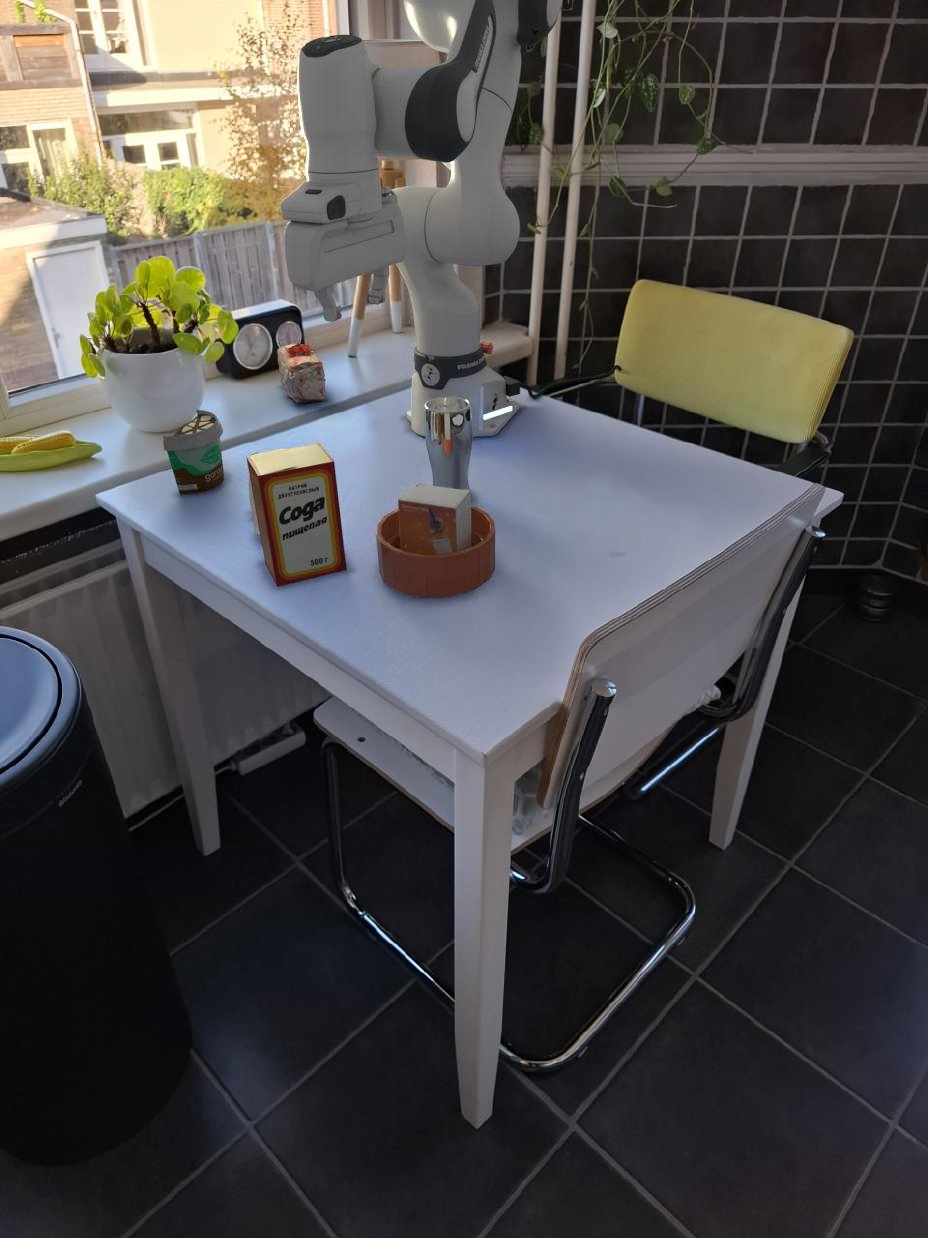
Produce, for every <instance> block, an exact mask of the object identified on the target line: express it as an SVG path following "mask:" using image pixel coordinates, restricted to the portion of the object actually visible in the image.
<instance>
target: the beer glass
mask: <svg viewBox="0 0 928 1238" xmlns="http://www.w3.org/2000/svg"><path fill="white" fill-rule="evenodd" d="M472 431H473V430H472V416H471V407H470V402H469V401H468V400H467V399H465V398H462V397H456V396H443V397H437V398H433V399H431V400H429V401H427V402H426V403H425V439H424V440H425V446H426V451H427V455H428V459H429V463H430V468H431V473H432V486H438V487H445V488H453V489H460V490H463V489H464V490H470V491H471V489H470V484H469V466H470V460H471V454H472V448H473V437H472Z"/></svg>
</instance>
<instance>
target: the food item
mask: <svg viewBox="0 0 928 1238" xmlns="http://www.w3.org/2000/svg"><path fill="white" fill-rule="evenodd" d="M314 353H315V352H314V351H313V350H312V349H311V347H310V345H308V344H301V343H299V342H297V343H290V344H287V345H284V346H281V347H278V349H277V363H278V371H279V377H280V382H281V384H282V385H283V387H284V388H285V390H286V397H288V398H290V399H292V400H293V401H294V402H295V403H299V404H307V403H308V404H309V403H316V402H322V401H325V400H326V380H327V379H326V378H325V377H326V375H325V369H324V365H323V362H322V361H320V359H319V358H318V357H317V356H316V355H315V354H314Z"/></svg>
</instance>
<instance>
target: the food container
mask: <svg viewBox="0 0 928 1238" xmlns="http://www.w3.org/2000/svg"><path fill="white" fill-rule="evenodd" d="M223 433H224V428H223V426H222V423H221V421H220V419H219V418H218V417H217V415H216V414H215V413H213V412H211V411H209V410H204V409H196V416H194V418H193V419H192V420H190V421H189V422H186V423H184V424H182V425H181V426H180V427H179V428H178V429H177V430H176V432H175V433H174V434H173V435H162V439H163V441H162V444H163V451H166V452H167V455H168V459H169V462H170V466H171V469H172V473H173V476H174V479H175V483H176V486H177V489H178V493H179V495H195V494H201V493H205V492H209V491H211V490H214V489H216V488H218V487H219V486H221V485H222V484H223V483H224V481H225V472H224V464H223V455H222V454H223V453H222V445H221V436H222V435H223Z"/></svg>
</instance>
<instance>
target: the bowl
mask: <svg viewBox="0 0 928 1238" xmlns="http://www.w3.org/2000/svg"><path fill="white" fill-rule="evenodd" d="M375 537H376V538H375V539H376V548H377V549H376V550H377V559H378V571H379V575H380V577H381V578H382V581H383V582H384V583H385V584H386V585H388V586H389V587H390V588H391V589H392V590H394V591H396V592H400V593H402V594H405V595H407V596H412V597H418V598H425V599H440V598H441V599H442V598H450V597H454V596H460V595H464V594H467V593H470V592H471V591H474V590H476V589H478V588H480V587H482V586H483V585H484V584H486V583H487V582H488V581H489V580H491V578H492V576H493V575H494V573H495V571H496V524H495V521H494V519H493V518H492V516H490V514H489V513H488V512H486V511H484V510H483V509H481V508H480V507H477V506H474V505H472V504H471V547H470V548H468V549H465V550H463V551H458V552H453V553H448V554H436V555H424V554H417V553H409V552H406V551H403V550H401V546H400V528H399V510H398V508H396V509H394V510H392V511H390V512H389V513H387V514H385V515H384V516H383V517H382V518H381V519H380V520H379V522H378V523H377V525H376V530H375Z"/></svg>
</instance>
